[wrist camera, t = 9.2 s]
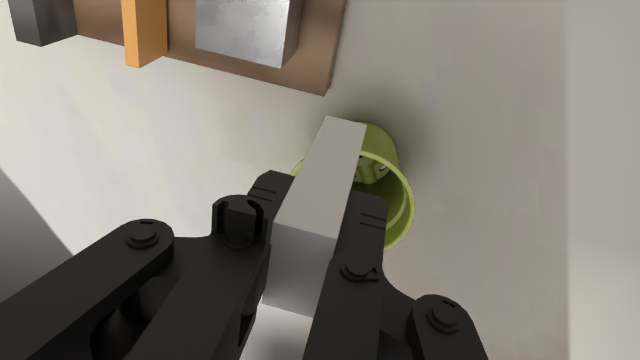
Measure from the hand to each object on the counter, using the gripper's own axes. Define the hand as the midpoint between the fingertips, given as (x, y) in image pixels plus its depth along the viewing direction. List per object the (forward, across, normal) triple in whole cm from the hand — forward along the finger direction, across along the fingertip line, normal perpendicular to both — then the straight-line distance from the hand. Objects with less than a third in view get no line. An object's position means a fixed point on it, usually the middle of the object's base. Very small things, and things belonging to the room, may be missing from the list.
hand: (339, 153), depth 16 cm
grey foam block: (+17, +9, -2) cm, 19 cm away
